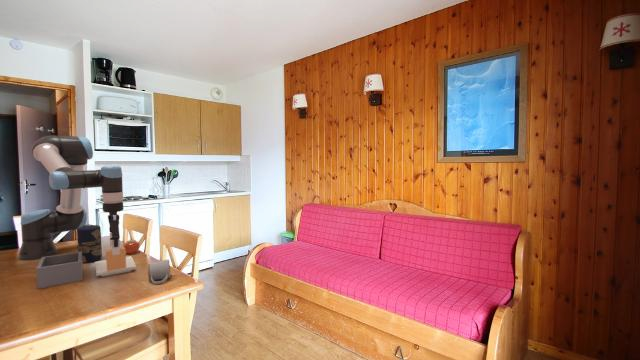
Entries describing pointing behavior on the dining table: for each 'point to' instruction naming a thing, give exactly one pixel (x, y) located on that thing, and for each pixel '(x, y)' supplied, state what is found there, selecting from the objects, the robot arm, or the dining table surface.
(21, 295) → the dining table surface
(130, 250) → the tomato
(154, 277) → the ceramic mug
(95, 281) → the dining table surface
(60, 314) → the dining table surface
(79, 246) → the canister
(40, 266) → the tub
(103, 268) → the lid
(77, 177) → the robot arm
